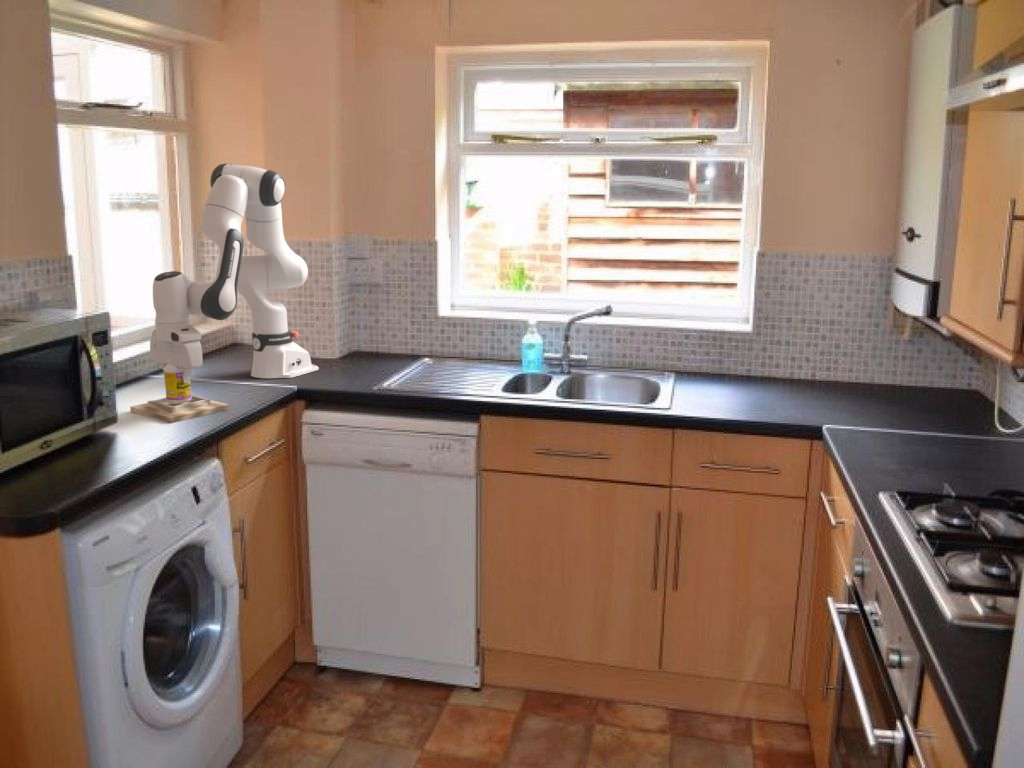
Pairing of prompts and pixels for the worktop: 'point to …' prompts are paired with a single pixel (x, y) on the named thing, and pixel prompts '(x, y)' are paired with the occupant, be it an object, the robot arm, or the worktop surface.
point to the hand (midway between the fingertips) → (177, 380)
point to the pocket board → (179, 409)
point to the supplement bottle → (175, 384)
